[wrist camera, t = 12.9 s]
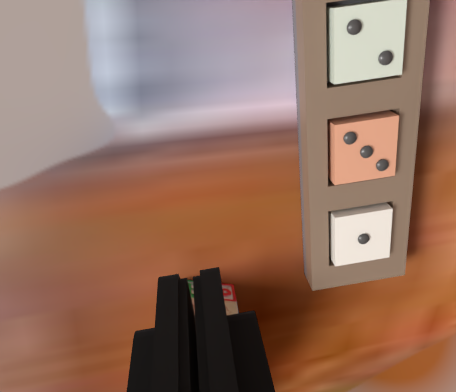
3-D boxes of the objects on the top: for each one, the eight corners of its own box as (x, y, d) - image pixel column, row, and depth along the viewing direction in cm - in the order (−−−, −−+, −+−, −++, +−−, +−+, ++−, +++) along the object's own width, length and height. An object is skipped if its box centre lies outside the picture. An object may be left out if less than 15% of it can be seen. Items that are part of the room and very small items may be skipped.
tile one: (326, 206, 40) (335, 219, 38) (381, 197, 41) (393, 209, 38) (327, 253, 43) (335, 267, 41) (378, 244, 43) (390, 258, 41)
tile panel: (290, -34, 32) (301, -37, 29) (413, -50, 33) (434, -55, 30) (304, 273, 45) (312, 290, 43) (391, 258, 46) (404, 274, 43)
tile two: (323, 7, 32) (335, 8, 30) (392, -2, 33) (408, -2, 30) (324, 79, 35) (335, 84, 33) (388, 69, 35) (403, 74, 33)
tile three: (325, 117, 36) (335, 125, 34) (386, 108, 37) (400, 116, 34) (326, 174, 39) (335, 186, 37) (383, 165, 39) (395, 176, 37)
